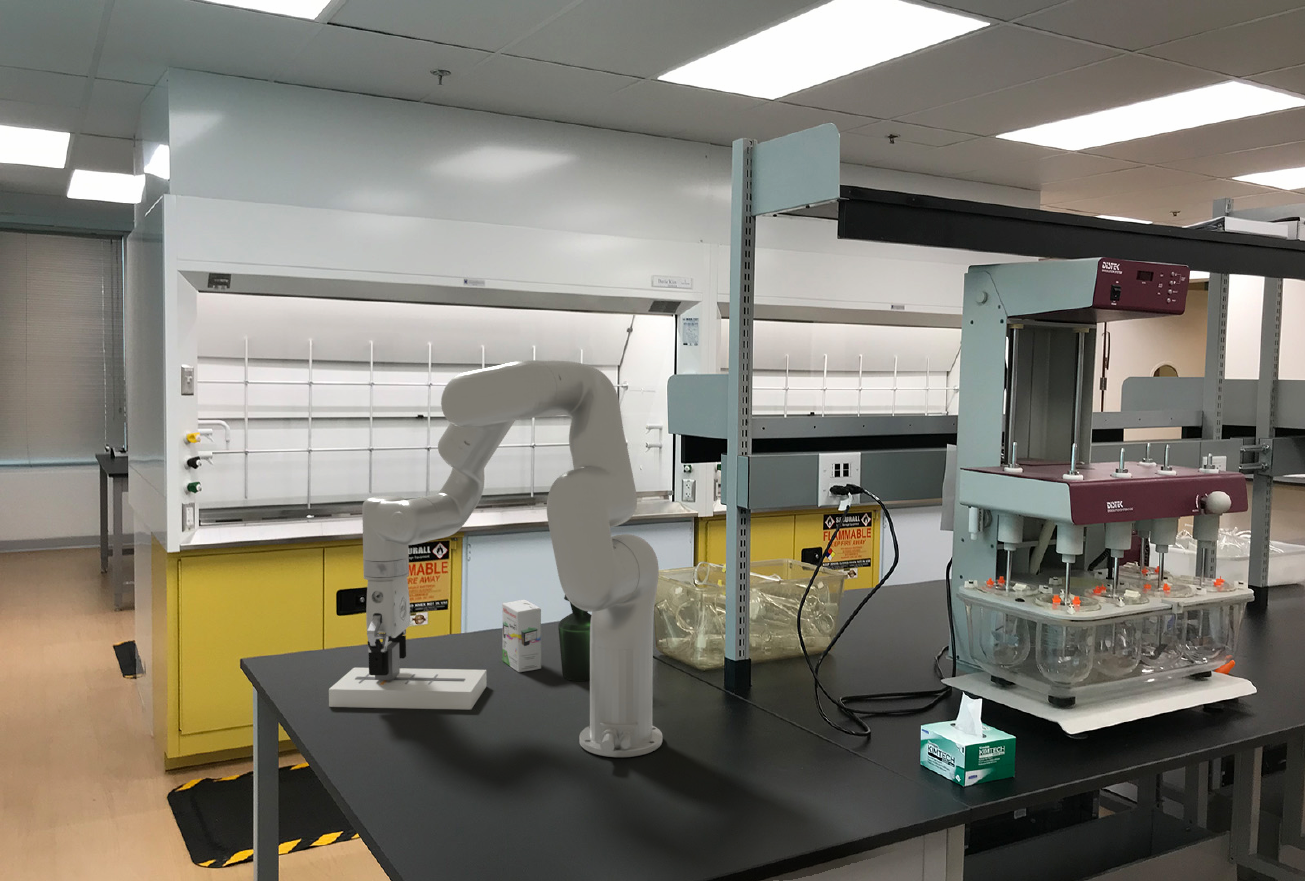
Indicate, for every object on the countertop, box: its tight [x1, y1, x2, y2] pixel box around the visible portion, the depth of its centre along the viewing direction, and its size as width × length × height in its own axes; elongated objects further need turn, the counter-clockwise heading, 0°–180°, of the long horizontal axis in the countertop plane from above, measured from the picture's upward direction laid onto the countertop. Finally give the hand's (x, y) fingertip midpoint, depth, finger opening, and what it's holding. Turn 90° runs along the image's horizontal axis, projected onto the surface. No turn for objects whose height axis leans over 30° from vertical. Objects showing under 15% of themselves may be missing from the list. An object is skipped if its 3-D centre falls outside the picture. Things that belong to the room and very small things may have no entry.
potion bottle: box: [557, 594, 592, 682], centre depth 176 cm, size 8×8×18 cm
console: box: [328, 667, 487, 710], centre depth 165 cm, size 12×24×3 cm, turn 88°
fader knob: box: [375, 641, 401, 680], centre depth 165 cm, size 4×3×6 cm
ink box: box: [501, 599, 542, 673], centre depth 183 cm, size 8×5×12 cm, turn 30°
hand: (388, 666), depth 165 cm, fingers open, 9 cm apart
